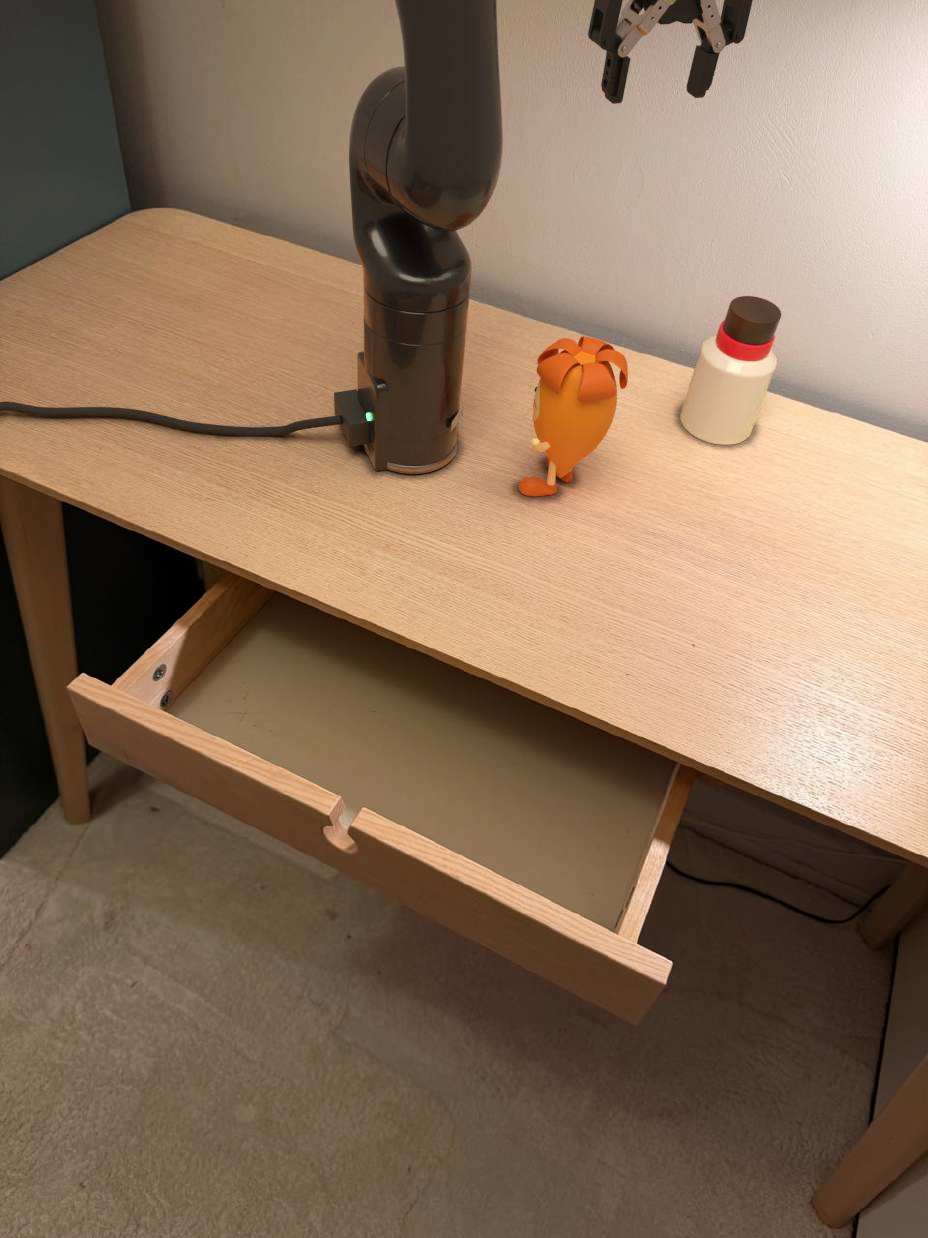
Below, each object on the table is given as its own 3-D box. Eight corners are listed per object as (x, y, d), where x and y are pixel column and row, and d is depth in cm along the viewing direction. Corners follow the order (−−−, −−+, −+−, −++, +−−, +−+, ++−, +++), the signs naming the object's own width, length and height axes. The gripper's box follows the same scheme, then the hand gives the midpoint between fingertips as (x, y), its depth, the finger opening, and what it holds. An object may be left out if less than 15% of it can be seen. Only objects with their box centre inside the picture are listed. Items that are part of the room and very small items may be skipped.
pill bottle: (761, 419, 99) (797, 328, 91) (736, 454, 95) (771, 362, 86) (696, 392, 101) (725, 302, 93) (668, 426, 97) (696, 334, 89)
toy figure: (558, 441, 94) (584, 308, 82) (624, 475, 91) (660, 342, 80) (491, 498, 87) (509, 362, 76) (560, 537, 84) (590, 402, 73)
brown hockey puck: (740, 348, 88) (748, 326, 86) (713, 320, 90) (720, 298, 89) (783, 341, 89) (791, 319, 87) (755, 314, 92) (763, 292, 90)
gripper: (754, -140, 74) (700, 78, 87) (599, -144, 70) (565, 86, 82) (807, -118, 70) (742, 109, 82) (645, -121, 66) (602, 118, 78)
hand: (654, 97), depth 82 cm, fingers open, 8 cm apart
